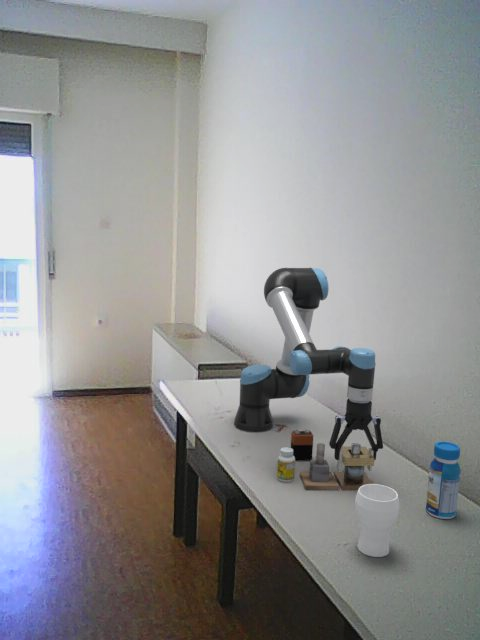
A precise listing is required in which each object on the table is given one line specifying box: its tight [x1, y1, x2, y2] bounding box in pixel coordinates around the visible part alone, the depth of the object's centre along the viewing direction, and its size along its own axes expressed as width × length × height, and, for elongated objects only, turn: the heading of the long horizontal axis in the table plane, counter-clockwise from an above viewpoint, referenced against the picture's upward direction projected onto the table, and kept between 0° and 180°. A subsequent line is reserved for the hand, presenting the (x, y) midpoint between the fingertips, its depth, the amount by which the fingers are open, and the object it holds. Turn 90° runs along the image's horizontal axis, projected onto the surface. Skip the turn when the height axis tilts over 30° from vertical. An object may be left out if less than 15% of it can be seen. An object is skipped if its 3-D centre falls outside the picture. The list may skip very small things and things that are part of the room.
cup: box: [354, 483, 400, 558], centre depth 146 cm, size 11×11×15 cm
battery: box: [290, 428, 314, 462], centre depth 201 cm, size 4×7×10 cm, turn 97°
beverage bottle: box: [425, 441, 462, 520], centre depth 166 cm, size 8×8×20 cm
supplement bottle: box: [276, 446, 296, 483], centre depth 185 cm, size 5×5×10 cm
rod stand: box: [299, 442, 340, 491], centre depth 182 cm, size 10×10×12 cm
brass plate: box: [341, 445, 375, 467], centre depth 183 cm, size 9×9×2 cm
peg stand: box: [333, 442, 374, 491], centre depth 183 cm, size 10×10×12 cm
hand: (354, 469), depth 184 cm, fingers closed on brass plate, 9 cm apart
